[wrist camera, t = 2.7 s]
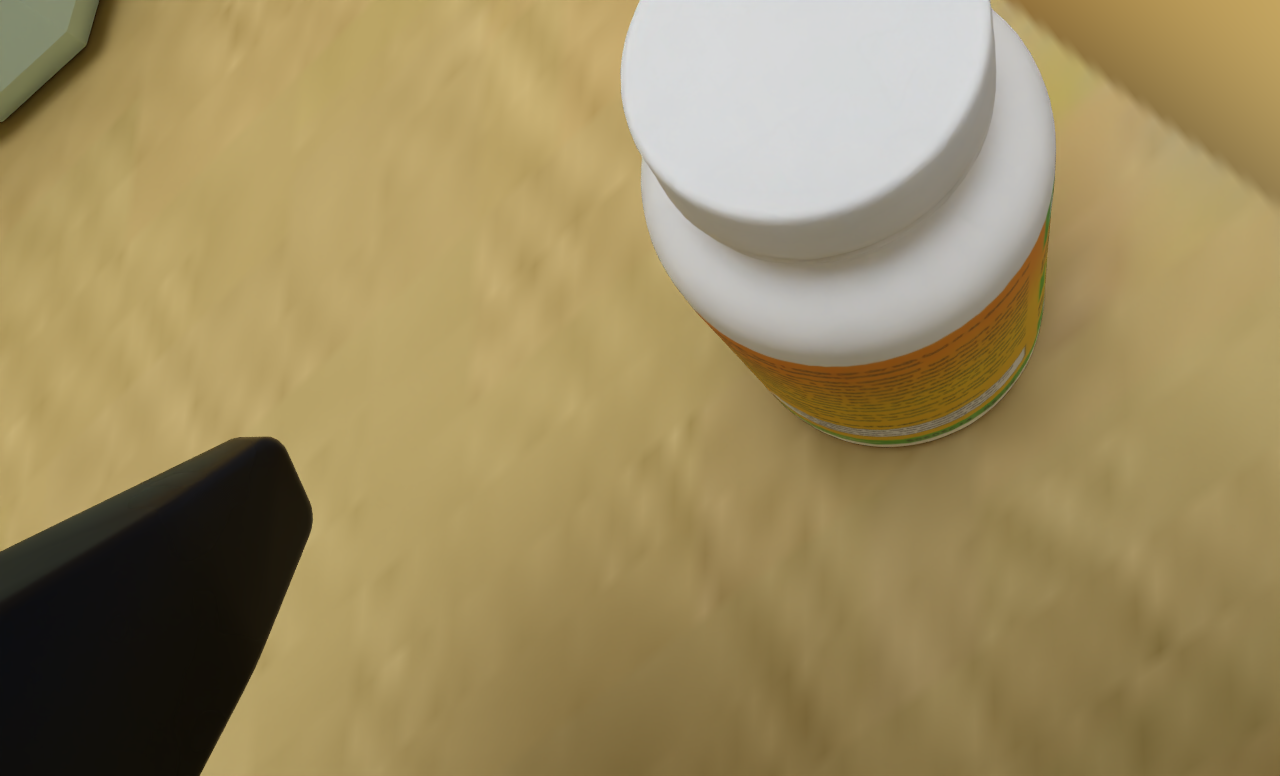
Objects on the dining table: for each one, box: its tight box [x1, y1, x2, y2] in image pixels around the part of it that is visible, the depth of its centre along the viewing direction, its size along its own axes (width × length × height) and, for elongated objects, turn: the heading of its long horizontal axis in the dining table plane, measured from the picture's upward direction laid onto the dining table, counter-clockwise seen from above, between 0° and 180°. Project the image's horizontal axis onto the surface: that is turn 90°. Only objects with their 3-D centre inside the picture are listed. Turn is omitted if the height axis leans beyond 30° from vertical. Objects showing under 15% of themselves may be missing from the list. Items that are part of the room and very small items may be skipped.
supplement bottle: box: [621, 0, 1056, 447], centre depth 16 cm, size 5×5×10 cm
